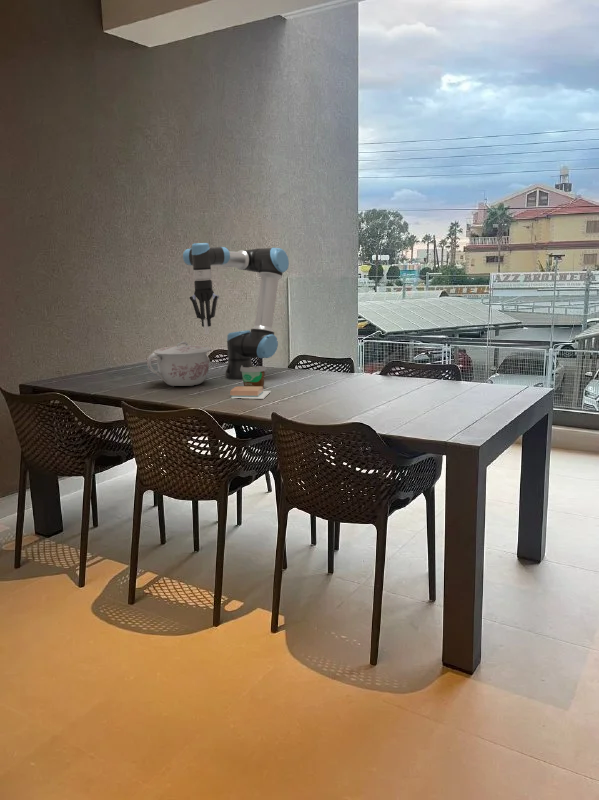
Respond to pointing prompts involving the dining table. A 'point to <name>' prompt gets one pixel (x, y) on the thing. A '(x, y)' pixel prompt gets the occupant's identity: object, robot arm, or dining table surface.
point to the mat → (256, 397)
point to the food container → (253, 376)
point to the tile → (246, 391)
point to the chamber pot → (181, 364)
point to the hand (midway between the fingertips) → (207, 333)
